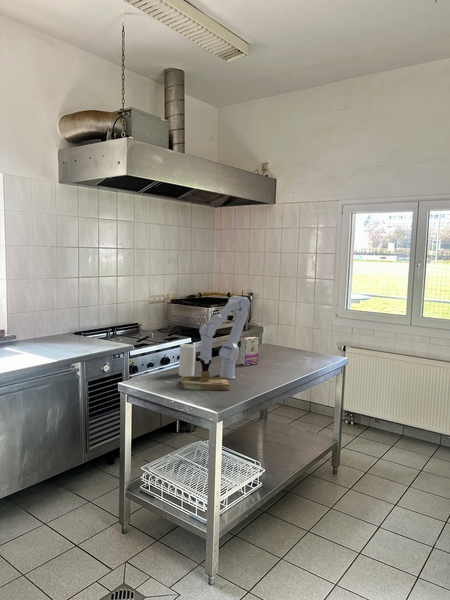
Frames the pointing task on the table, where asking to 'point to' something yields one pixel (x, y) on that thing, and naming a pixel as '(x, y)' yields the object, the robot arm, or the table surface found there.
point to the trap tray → (205, 383)
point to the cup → (187, 360)
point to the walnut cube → (204, 376)
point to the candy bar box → (249, 350)
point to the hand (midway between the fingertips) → (204, 374)
